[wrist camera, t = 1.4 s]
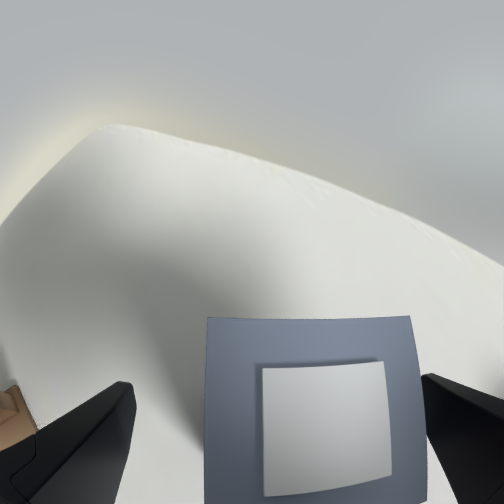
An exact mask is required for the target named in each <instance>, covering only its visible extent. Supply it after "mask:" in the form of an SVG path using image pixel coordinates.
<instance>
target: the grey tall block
mask: <svg viewBox="0 0 504 504" xmlns="http://www.w3.org/2000/svg"><path fill="white" fill-rule="evenodd" d="M425 501H427V437H426V422H425V410H424V400H423V391H422V383H421V375H420V368H419V362H418V356H417V350H416V344H415V339H414V333H413V328H412V323H411V319H410V316H395V317H376V318H350V319H242V318H215V317H208V323H207V344H206V369H205V403H204V504H420V503H423V502H425Z"/></svg>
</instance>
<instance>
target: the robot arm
mask: <svg viewBox="0 0 504 504" xmlns="http://www.w3.org/2000/svg"><path fill="white" fill-rule="evenodd" d="M421 383H422V391H423V400H424V410H425V422H426V435H427V437H428V439H429V441H430V443H431V445H432V447H433V449H434V451H435V453H436V455H437V457H438V460H439V462H440V464H441V466H442V468H443V470H444V472H445V475H446V477H447V479H448V481H449V483H450V486H451V488H452V490H453V493H454V495H455V497H456V500H457V502H458V504H504V400H503V399H500V398H497V397H494V396H491V395H489V394H486V393H483V392H480V391H478V390H475V389H472V388H470V387H467V386H464V385H462V384H459V383H456V382H454V381H451V380H449V379H446V378H443V377H441V376H438V375H436V374H433V373H429V374H424V375H422V376H421ZM136 409H137V405H136V400H135V395H134V389H133V386H132V384H131V383H129V382H122V381H118V382H116V383H114V384H113V385H111V386H110V387H108V388H106V389H105V390H103V391H102V392H100V393H99V394H97V395H95V396H94V397H92V398H91V399H89V400H87V401H86V402H84V403H83V404H81V405H79V406H78V407H76V408H75V409H73V410H71V411H70V412H68V413H67V414H65V415H63V416H62V417H60V418H58V419H57V420H55V421H53V422H52V423H50V424H48V425H47V426H45V427H43V428H42V429H40V430H38V431H37V432H35V434H31V435H30V436H28V437H26V438H25V439H23V440H21V441H19V442H17V443H16V444H14V445H12V446H10V447H8V448H5V449H3V450H1V451H0V504H114V503H115V499H116V496H117V492H118V488H119V485H120V481H121V478H122V475H123V471H124V468H125V465H126V461H127V458H128V454H129V449H130V444H131V438H132V432H133V427H134V421H135V416H136Z"/></svg>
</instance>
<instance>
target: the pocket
mask: <svg viewBox="0 0 504 504" xmlns="http://www.w3.org/2000/svg"><path fill="white" fill-rule="evenodd" d="M37 431H38V429H37V427H36V425H35V423H34V421H33V419H32V417H31V415H30V413H29V411H28V408H27V406H26V404H25V402H24V399H23V397H22V395H21V392H20V390H19V388H18V386H16V385H13V386H12V387H11V388H9V389H8V390H6V391H5V392H1V391H0V451H1V450H3V449H5V448H8V447H10V446H12V445H14V444H16V443H17V442H19V441H21V440H23V439H25V438H26V437H28V436H30V435H31V434H35V432H37Z"/></svg>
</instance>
